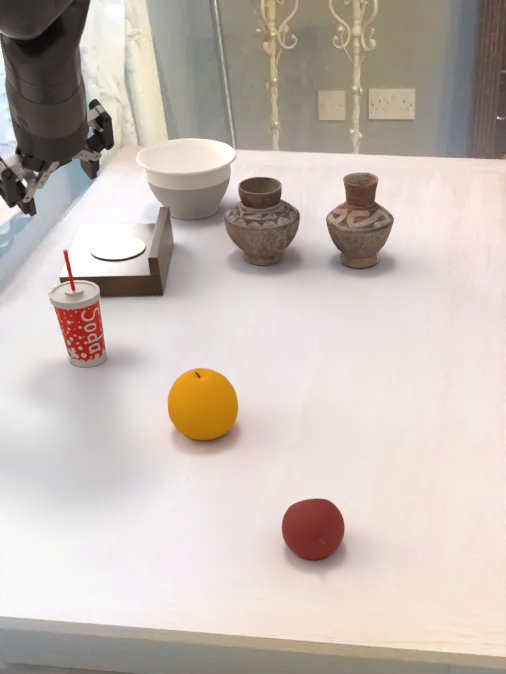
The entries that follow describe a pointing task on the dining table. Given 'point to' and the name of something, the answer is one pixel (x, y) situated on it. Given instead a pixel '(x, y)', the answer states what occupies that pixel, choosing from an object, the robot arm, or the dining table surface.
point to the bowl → (188, 175)
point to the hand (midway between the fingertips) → (58, 190)
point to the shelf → (123, 257)
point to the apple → (202, 404)
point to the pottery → (283, 221)
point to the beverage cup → (79, 319)
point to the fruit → (313, 528)
